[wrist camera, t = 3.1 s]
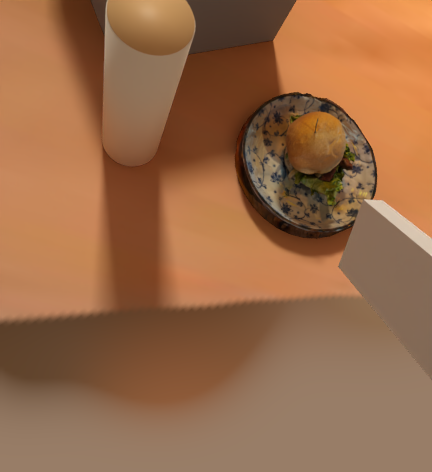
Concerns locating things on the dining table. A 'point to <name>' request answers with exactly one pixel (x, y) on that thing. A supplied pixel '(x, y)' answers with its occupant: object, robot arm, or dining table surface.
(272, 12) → the gray square-hole box
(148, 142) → the coin roll
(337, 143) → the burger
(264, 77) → the dining table surface
